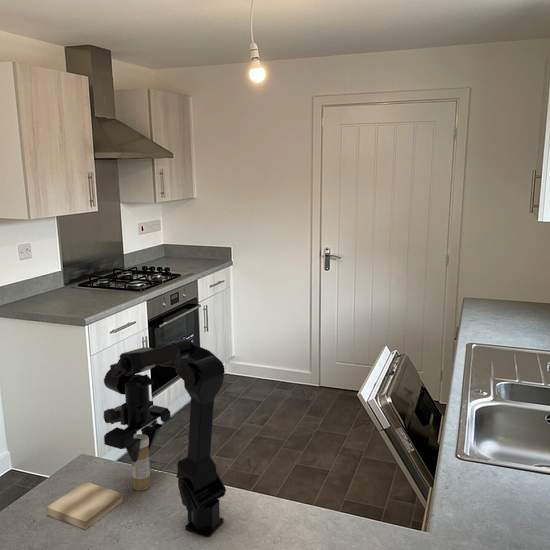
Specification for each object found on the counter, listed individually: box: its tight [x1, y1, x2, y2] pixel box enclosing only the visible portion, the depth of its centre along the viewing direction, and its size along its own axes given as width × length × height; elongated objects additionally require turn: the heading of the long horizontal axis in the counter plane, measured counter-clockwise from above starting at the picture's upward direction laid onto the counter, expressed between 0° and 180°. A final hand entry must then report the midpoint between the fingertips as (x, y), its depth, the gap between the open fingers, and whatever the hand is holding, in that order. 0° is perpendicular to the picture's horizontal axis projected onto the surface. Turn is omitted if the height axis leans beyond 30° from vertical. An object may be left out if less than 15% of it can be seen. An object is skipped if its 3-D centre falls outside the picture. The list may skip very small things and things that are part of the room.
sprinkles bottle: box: [131, 433, 151, 491], centre depth 137 cm, size 5×5×13 cm
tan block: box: [46, 481, 124, 530], centre depth 129 cm, size 12×12×2 cm
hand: (140, 457), depth 136 cm, fingers closed on sprinkles bottle, 4 cm apart
